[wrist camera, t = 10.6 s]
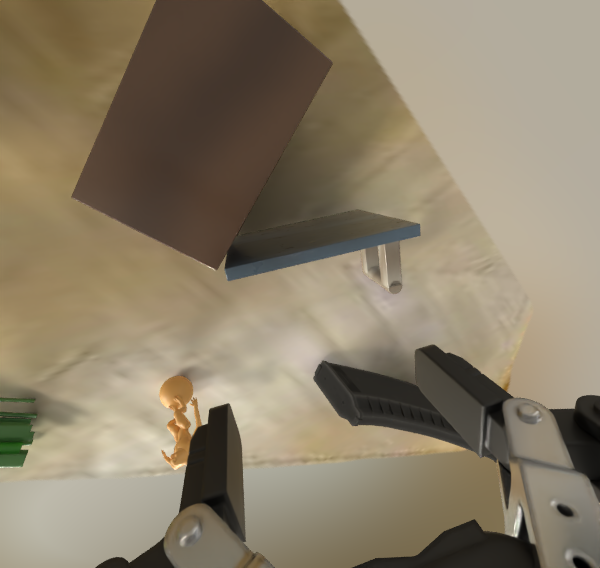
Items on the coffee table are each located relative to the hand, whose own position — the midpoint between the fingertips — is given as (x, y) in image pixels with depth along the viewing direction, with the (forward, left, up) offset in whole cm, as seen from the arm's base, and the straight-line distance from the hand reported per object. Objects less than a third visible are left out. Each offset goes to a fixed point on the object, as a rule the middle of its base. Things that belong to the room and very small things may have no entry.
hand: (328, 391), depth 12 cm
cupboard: (-2, +12, -26) cm, 29 cm away
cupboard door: (+4, 0, -26) cm, 26 cm away
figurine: (-15, -15, -26) cm, 34 cm away
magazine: (+14, -27, -26) cm, 40 cm away
